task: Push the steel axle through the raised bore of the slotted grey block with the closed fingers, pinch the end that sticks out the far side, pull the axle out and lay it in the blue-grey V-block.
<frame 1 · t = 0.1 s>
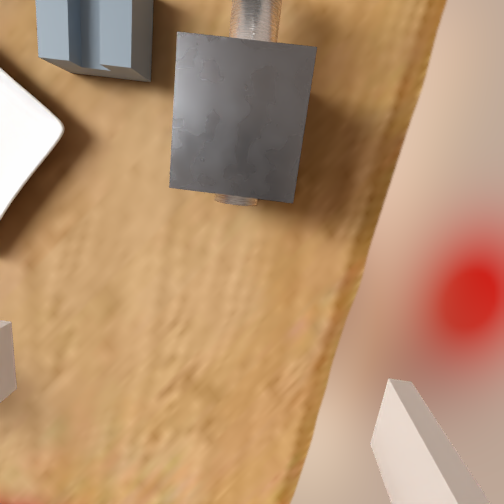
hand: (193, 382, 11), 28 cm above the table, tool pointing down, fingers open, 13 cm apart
slotted grey block: (249, 137, 35), on the table
v block: (110, 36, 33), on the table
axle: (248, 86, 27), point 7 cm above the table, touching slotted grey block
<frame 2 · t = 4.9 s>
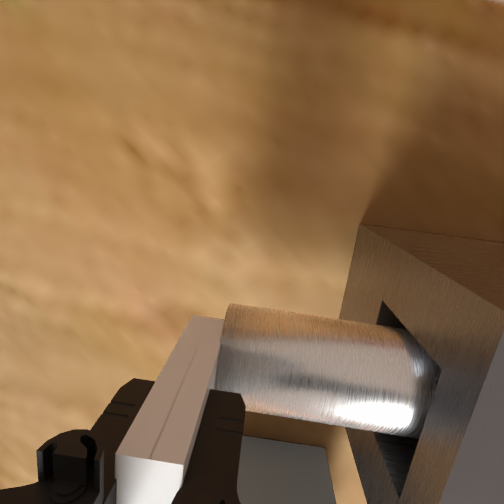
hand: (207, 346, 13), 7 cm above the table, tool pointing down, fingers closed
slotted grey block: (430, 313, 20), on the table
v block: (262, 486, 24), on the table
axle: (470, 390, 12), point 8 cm above the table, touching gripper
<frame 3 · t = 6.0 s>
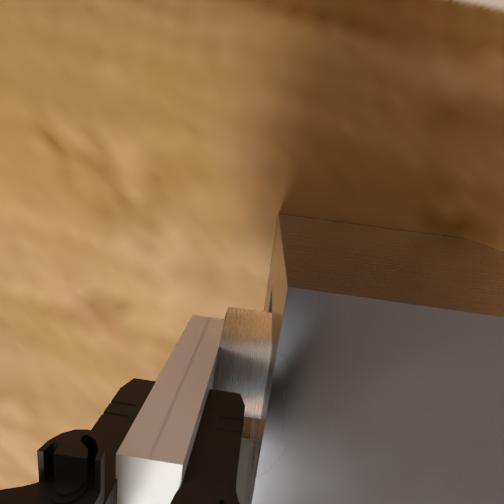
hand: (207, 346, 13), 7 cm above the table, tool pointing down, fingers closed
slotted grey block: (353, 304, 20), on the table
v block: (199, 478, 24), on the table
axle: (472, 393, 12), point 7 cm above the table, touching slotted grey block, gripper
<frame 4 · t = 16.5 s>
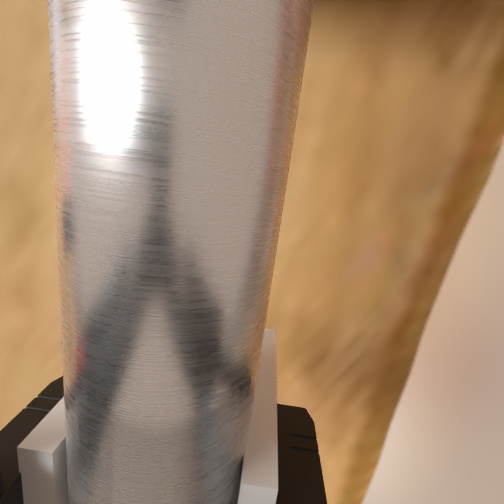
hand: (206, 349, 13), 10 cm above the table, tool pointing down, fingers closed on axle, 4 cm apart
axle: (180, 172, 6), point 16 cm above the table, touching gripper
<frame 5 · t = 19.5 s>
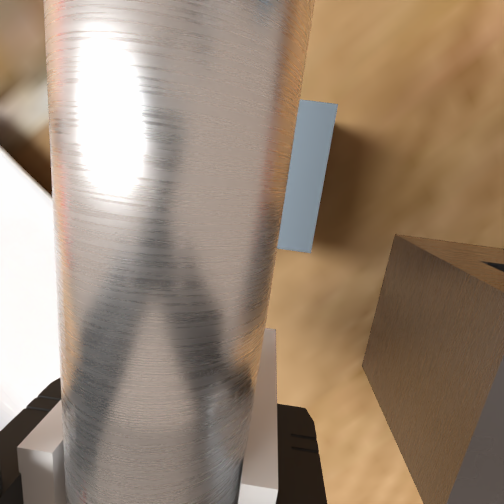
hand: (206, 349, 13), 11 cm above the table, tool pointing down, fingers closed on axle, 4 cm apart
salad plate: (21, 289, 26), on the table
slotted grey block: (443, 313, 24), on the table
v block: (249, 171, 22), on the table
axle: (179, 173, 6), point 17 cm above the table, touching gripper
when the fingers open (2 cm above the table, at t = 21.8 s): axle drops 1 cm, resting on v block.
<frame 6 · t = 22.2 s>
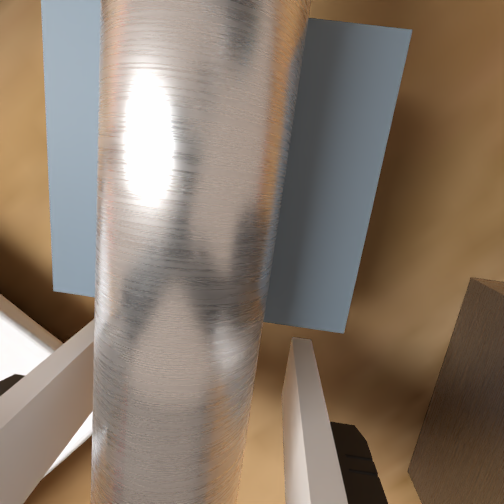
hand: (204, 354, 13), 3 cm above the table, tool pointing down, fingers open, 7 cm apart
v block: (231, 175, 13), on the table
axle: (196, 172, 7), point 6 cm above the table, touching v block
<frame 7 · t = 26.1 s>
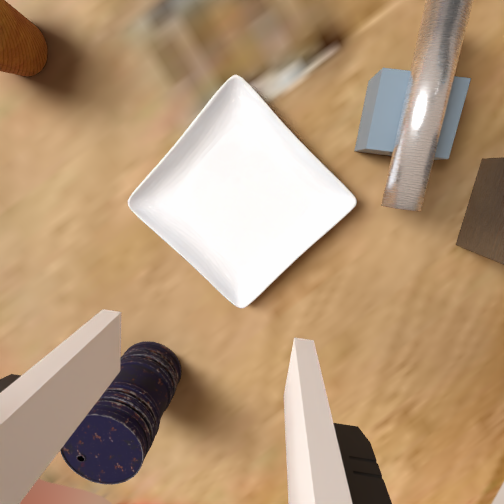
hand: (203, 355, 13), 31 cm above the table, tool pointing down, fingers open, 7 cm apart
salad plate: (241, 200, 42), on the table
disposable coffee cup: (24, 49, 39), on the table
dark blue ridged cylinder: (151, 368, 50), on the table
v block: (398, 121, 38), on the table
axle: (423, 110, 32), point 6 cm above the table, touching v block
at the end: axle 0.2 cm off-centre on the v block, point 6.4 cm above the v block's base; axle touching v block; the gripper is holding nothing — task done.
